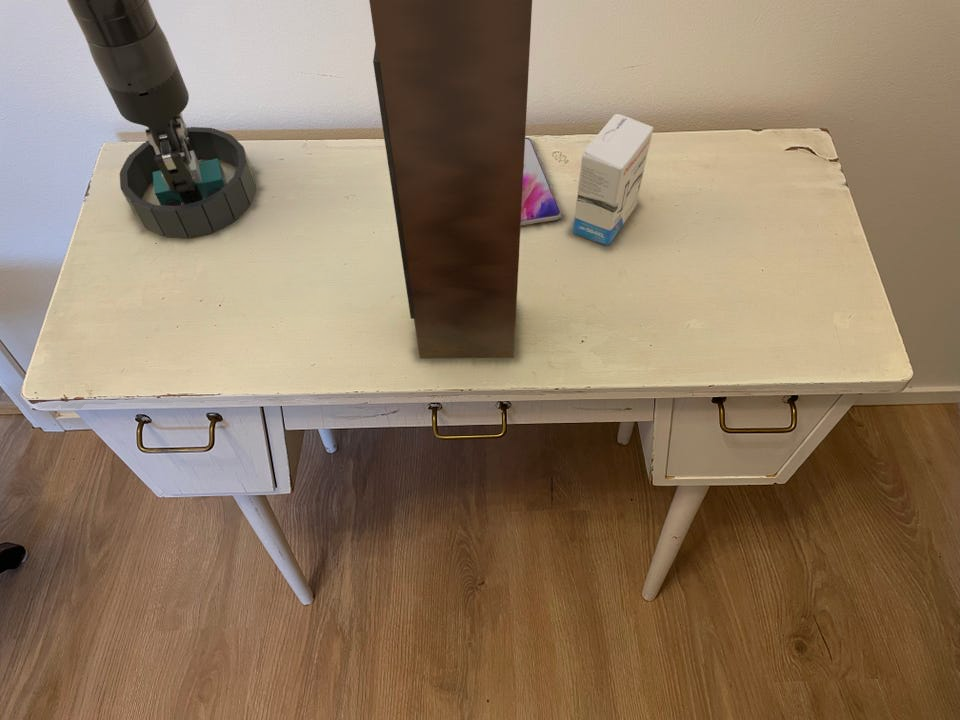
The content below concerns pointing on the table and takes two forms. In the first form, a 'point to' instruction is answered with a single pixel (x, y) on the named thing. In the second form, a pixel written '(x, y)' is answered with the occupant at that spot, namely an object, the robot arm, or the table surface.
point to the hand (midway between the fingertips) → (192, 187)
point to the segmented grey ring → (198, 214)
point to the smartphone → (536, 190)
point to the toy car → (206, 179)
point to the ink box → (611, 178)
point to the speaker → (456, 163)
